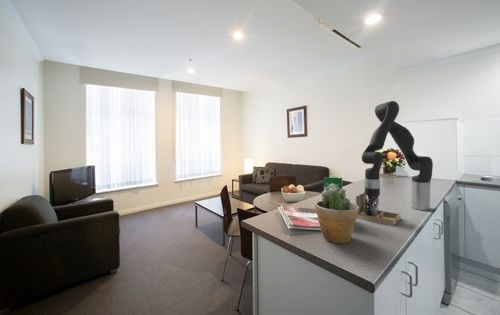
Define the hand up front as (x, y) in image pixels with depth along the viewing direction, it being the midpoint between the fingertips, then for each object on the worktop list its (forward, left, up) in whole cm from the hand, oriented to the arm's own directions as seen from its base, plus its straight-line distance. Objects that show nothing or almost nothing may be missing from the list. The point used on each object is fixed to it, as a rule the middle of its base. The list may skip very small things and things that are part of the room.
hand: (372, 214), depth 122 cm
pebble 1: (-4, -3, 0) cm, 5 cm away
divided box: (0, +3, -2) cm, 3 cm away
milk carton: (+18, -14, -2) cm, 23 cm away
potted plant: (+39, -3, -2) cm, 39 cm away
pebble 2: (+4, -3, 0) cm, 5 cm away
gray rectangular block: (0, 0, -1) cm, 1 cm away
